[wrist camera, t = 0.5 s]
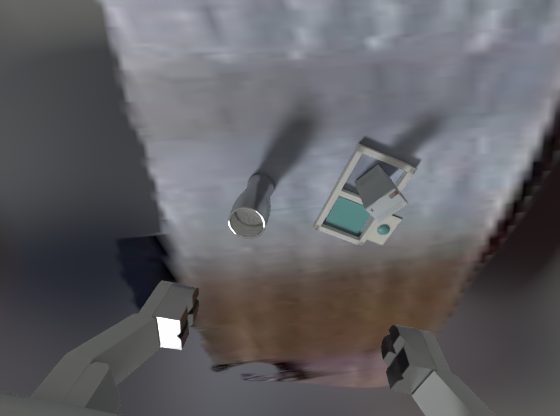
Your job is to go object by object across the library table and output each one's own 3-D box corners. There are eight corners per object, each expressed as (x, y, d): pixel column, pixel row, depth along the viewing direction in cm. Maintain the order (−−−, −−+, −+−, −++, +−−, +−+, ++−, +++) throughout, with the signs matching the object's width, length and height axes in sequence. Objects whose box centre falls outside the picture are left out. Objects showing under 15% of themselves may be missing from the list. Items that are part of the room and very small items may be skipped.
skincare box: (366, 194, 55) (379, 226, 45) (353, 180, 54) (363, 210, 44) (391, 176, 53) (410, 205, 42) (377, 161, 52) (394, 188, 41)
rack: (358, 142, 50) (359, 145, 49) (435, 174, 52) (438, 177, 50) (313, 224, 61) (313, 228, 59) (378, 249, 62) (379, 253, 61)
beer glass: (278, 174, 55) (268, 210, 42) (274, 202, 59) (264, 243, 46) (246, 169, 55) (227, 203, 42) (244, 196, 59) (226, 236, 46)
